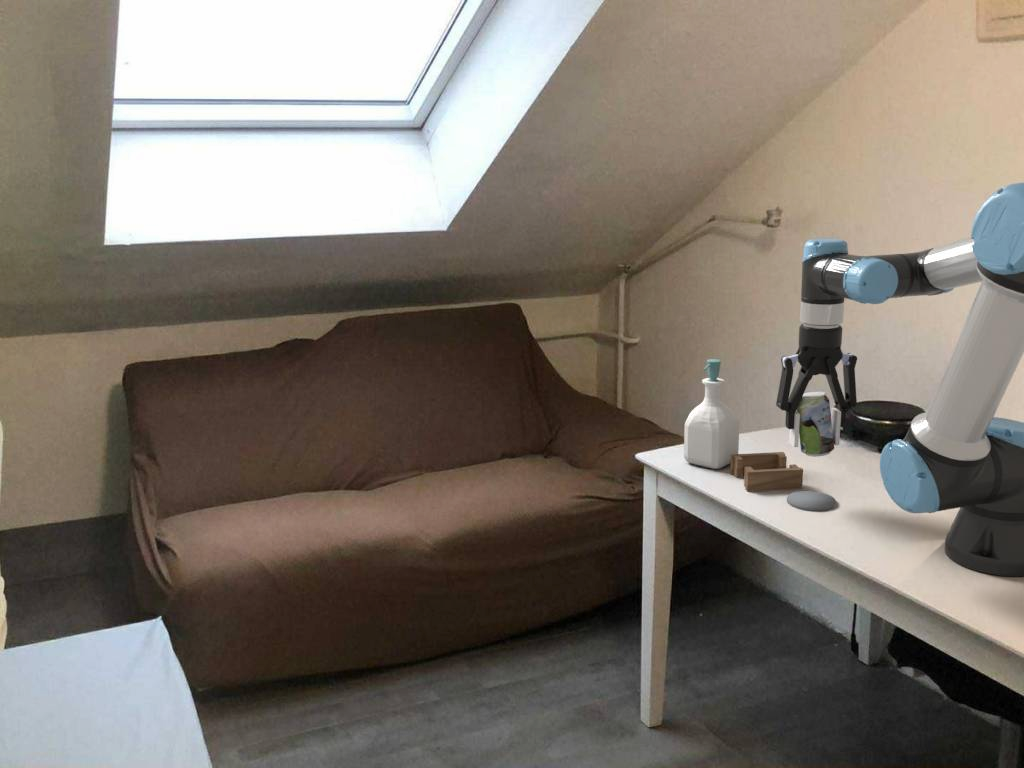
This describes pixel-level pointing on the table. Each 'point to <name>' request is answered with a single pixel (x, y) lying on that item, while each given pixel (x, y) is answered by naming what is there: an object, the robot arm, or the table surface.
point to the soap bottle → (711, 426)
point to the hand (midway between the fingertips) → (814, 443)
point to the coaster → (811, 501)
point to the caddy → (766, 471)
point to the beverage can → (815, 424)
